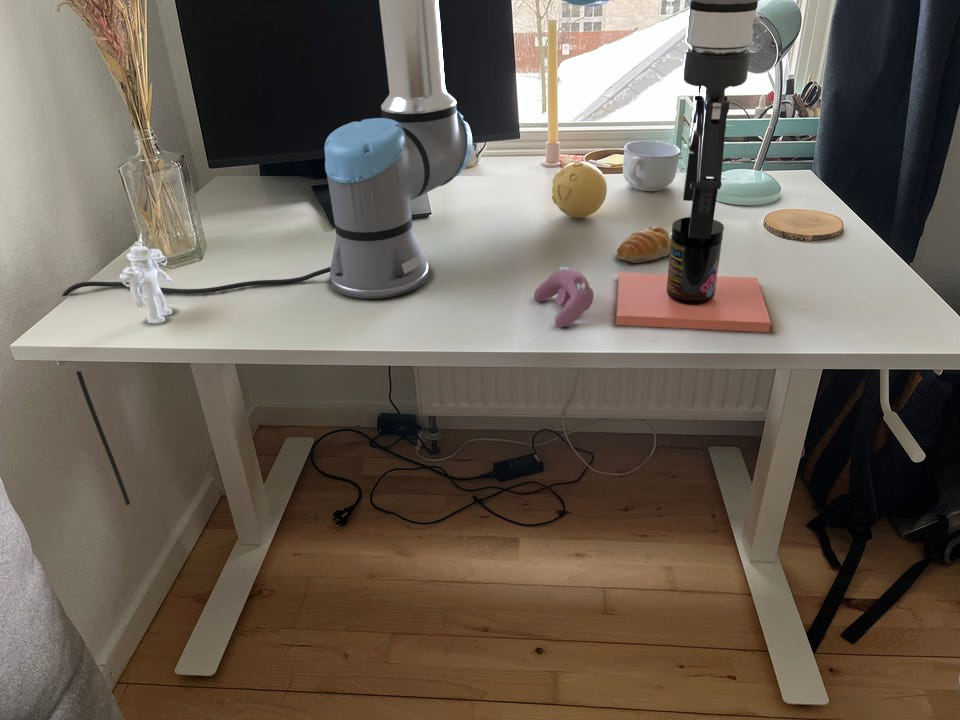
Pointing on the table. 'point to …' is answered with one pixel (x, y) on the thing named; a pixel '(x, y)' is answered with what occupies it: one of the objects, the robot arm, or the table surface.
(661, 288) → the foam mat
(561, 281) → the video game controller
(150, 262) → the hat wearing toy figure
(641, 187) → the teacup
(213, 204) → the table surface
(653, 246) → the pastry
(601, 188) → the stress ball
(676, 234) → the supplement container
